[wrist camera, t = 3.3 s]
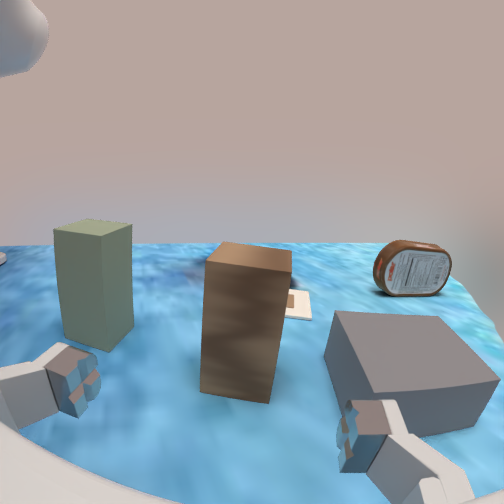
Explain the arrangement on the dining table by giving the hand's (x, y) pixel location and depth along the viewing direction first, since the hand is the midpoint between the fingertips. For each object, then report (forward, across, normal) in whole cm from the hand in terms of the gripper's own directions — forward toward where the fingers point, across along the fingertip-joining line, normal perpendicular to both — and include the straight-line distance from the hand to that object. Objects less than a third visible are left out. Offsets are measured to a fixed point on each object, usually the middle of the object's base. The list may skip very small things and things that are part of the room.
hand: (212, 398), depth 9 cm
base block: (+12, -13, +9) cm, 20 cm away
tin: (+37, -23, +9) cm, 45 cm away
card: (+28, -2, +9) cm, 30 cm away
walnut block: (+12, 0, +9) cm, 15 cm away
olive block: (+14, +14, +8) cm, 22 cm away
